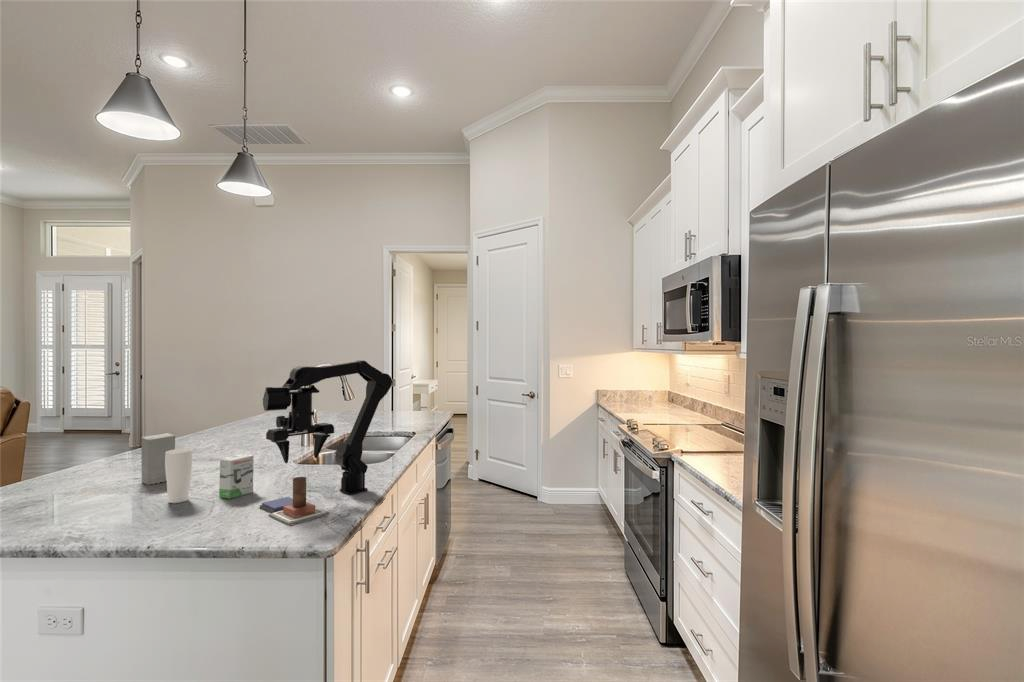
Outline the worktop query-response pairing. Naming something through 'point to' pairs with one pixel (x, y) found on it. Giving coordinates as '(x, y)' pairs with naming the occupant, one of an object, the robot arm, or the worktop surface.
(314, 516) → the marked board
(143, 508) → the worktop surface
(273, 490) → the worktop surface
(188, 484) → the drinking glass
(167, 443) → the skincare box
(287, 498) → the ink pad
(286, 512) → the stamp
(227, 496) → the ink box
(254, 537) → the worktop surface
